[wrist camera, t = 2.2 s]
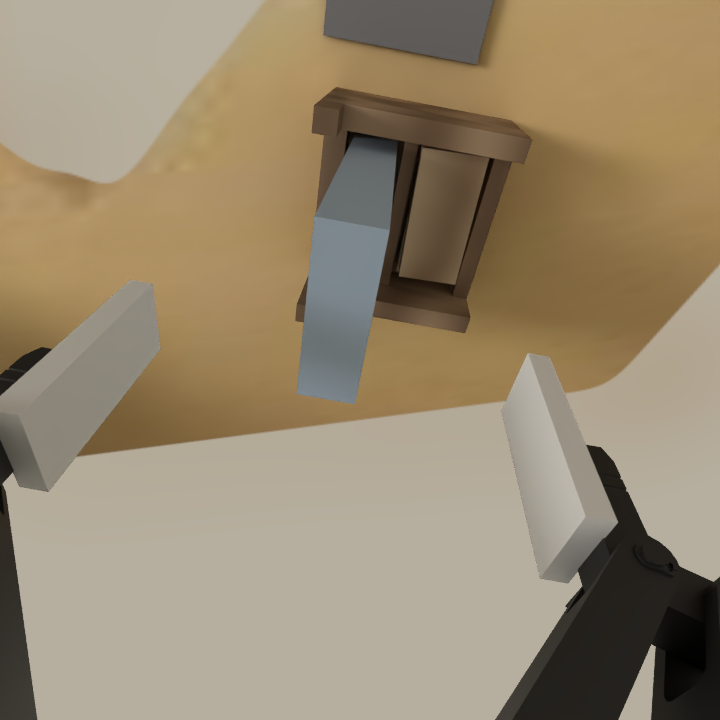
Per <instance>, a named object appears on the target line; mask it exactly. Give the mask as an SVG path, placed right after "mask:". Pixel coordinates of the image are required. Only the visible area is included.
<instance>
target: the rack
mask: <svg viewBox="0 0 720 720" xmlns="http://www.w3.org/2000/svg"><path fill="white" fill-rule="evenodd" d="M356 132H358V133H363V134H368V135H373V136H379V137H384V138H389V139H395V140H398V144H397V155H396V167H395V178H394V189H393V200H392V211H391V223H390V232H389V237H388V242H387V247H386V252H385V257H384V262H383V267H382V272H381V277H380V282H379V287H378V292H377V297H376V302H375V306H374V311H373V316H372V317H378V318H383V319H389V320H394V321H400V322H406V323H411V324H417V325H422V326H428V327H433V328H439V329H445V330H450V331H456V332H461V333H465V332H466V329H467V326H468V323H469V320H470V314H469V309H468V305H467V300H466V298H467V295H468V292H469V289H470V286H471V283H472V280H473V277H474V274H475V271H476V268H477V265H478V262H479V259H480V256H481V253H482V250H483V247H484V244H485V241H486V238H487V235H488V232H489V229H490V226H491V223H492V220H493V217H494V214H495V211H496V208H497V205H498V202H499V199H500V196H501V193H502V190H503V187H504V184H505V181H506V178H507V175H508V172H509V169H510V166H511V163H512V162H516V163H522V164H524V162H525V159H526V156H527V153H528V150H529V148H530V145H531V142H532V139H531V138H530V137H529V136H528V135H527V134H525V133H524V132H523V131H522V130H521V129H520V128H519V127H518V126H517V125H515V124H514V123H513V122H512V121H510V120H505V119H500V118H494V117H489V116H484V115H479V114H473V113H468V112H463V111H458V110H452V109H447V108H442V107H437V106H432V105H426V104H421V103H416V102H411V101H405V100H400V99H395V98H390V97H384V96H379V95H374V94H369V93H364V92H358V91H353V90H348V89H343V88H337V87H336V88H335V89H333V90H332V91H331V92H330V93H328V94H327V95H326V96H325V97H324V98H322V99H321V100H320V101H319V102H317V103H316V104H315V105H314V113H313V124H312V133H315V134H320V135H324V141H323V151H322V161H321V171H320V181H319V190H318V200H317V210H318V208H319V206H320V204H321V202H322V200H323V198H324V196H325V194H326V192H327V190H328V188H329V186H330V184H331V182H332V180H333V178H334V176H335V174H336V172H337V170H338V168H339V166H340V164H341V162H342V160H343V158H344V156H345V154H346V152H347V150H348V148H349V146H350V144H351V142H352V140H353V138H354V136H355V134H356ZM422 145H426V146H432V147H437V148H442V149H447V150H453V151H458V152H463V153H469V154H474V155H479V156H484V157H489V161H488V165H487V168H486V172H485V176H484V180H483V183H482V187H481V191H480V194H479V198H478V202H477V206H476V209H475V213H474V217H473V221H472V224H471V228H470V232H469V235H468V239H467V243H466V247H465V250H464V254H463V258H462V261H461V265H460V269H459V273H458V276H457V280H456V284H455V285H453V284H447V283H440V282H433V281H426V280H420V279H413V278H406V277H400V276H399V271H396V263H397V258H398V253H399V249H400V244H401V240H402V235H403V230H404V226H405V221H406V217H407V212H408V208H409V203H410V198H411V194H412V189H413V185H414V180H415V176H416V171H417V166H418V162H419V157H420V151H421V146H422ZM317 210H316V212H317ZM307 286H308V278H307V280H306V283H305V285H304V288H303V290H302V293H301V295H300V298H299V300H298V303H297V308H296V320H295V321H299V322H304V316H305V306H306V296H307Z"/></svg>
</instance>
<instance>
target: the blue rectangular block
mask: <svg viewBox="0 0 720 720" xmlns="http://www.w3.org/2000/svg"><path fill="white" fill-rule="evenodd" d="M397 144H398V140H395V139H389V138H384V137H379V136H373V135H368V134H363V133H358V132H356V134H355V136H354V138H353V140H352V142H351V144H350V146H349V148H348V150H347V152H346V154H345V156H344V158H343V160H342V162H341V164H340V166H339V168H338V170H337V172H336V174H335V176H334V178H333V180H332V182H331V184H330V186H329V188H328V190H327V192H326V194H325V196H324V198H323V200H322V202H321V204H320V206H319V208H318V210H317V212H316V214H315V216H314V225H313V235H312V245H311V255H310V265H309V275H308V286H307V296H306V306H305V316H304V326H303V336H302V346H301V356H300V366H299V376H298V386H297V394H299V395H305V396H311V397H317V398H322V399H328V400H334V401H339V402H345V403H351V404H355V401H356V396H357V391H358V386H359V381H360V376H361V371H362V366H363V361H364V356H365V351H366V346H367V341H368V336H369V331H370V326H371V321H372V316H373V311H374V306H375V302H376V297H377V292H378V287H379V282H380V277H381V272H382V267H383V262H384V257H385V252H386V247H387V242H388V237H389V232H390V223H391V211H392V200H393V189H394V178H395V167H396V155H397Z"/></svg>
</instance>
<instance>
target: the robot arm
mask: <svg viewBox="0 0 720 720" xmlns="http://www.w3.org/2000/svg"><path fill="white" fill-rule="evenodd" d="M160 349H161V348H160V340H159V332H158V323H157V315H156V307H155V299H154V291H153V284H151V283H145V282H140V281H135V280H130V281H129V282H127V283H126V284H125V285H124V286H123V287H122V288H121V289H120V290H118V291H117V292H116V293H115V294H114V295H113V296H112V297H111V298H109V299H108V300H107V301H106V302H105V303H104V304H103V305H102V306H101V307H99V308H98V309H97V310H96V311H95V312H94V313H93V314H92V315H90V316H89V317H88V318H87V319H86V320H85V321H84V322H83V323H81V324H80V325H79V326H78V327H77V328H76V329H75V330H74V331H73V332H71V333H70V334H69V335H68V336H67V337H66V338H65V339H64V340H62V341H61V342H60V343H59V344H58V345H57V346H56V347H55V348H53V349H49V348H44V347H41V348H39V349H36V350H34V351H32V352H30V353H28V354H26V355H24V356H22V357H21V358H20V359H18V360H17V361H16V362H15V363H14V364H12V365H11V366H10V367H9V370H5V371H4V372H3V373H2V374H1V375H0V720H37V715H36V708H35V700H34V693H33V686H32V679H31V672H30V664H29V658H28V649H27V643H26V635H25V628H24V620H23V613H22V606H21V599H20V592H19V584H18V577H17V570H16V563H15V555H14V548H13V541H12V533H11V527H10V519H9V512H8V504H7V497H6V491H5V489H4V487H3V485H2V484H3V482H4V481H5V480H6V479H7V478H8V477H9V476H10V475H11V474H12V472H13V474H14V475H15V478H16V480H17V483H18V485H19V487H24V488H30V489H36V490H41V491H47V492H49V490H50V489H51V488H52V487H53V485H54V484H55V483H56V482H57V480H58V479H59V478H60V476H61V475H62V474H63V473H64V471H65V470H66V469H67V467H68V466H69V465H70V464H71V462H72V461H73V460H74V459H75V457H76V456H77V455H78V454H79V452H80V451H81V450H82V448H83V447H84V446H85V445H86V443H87V442H88V441H89V440H90V438H91V437H92V436H93V434H94V433H95V432H96V431H97V429H98V428H99V427H100V426H101V424H102V423H103V422H104V420H105V419H106V418H107V417H108V415H109V414H110V413H111V412H112V410H113V409H114V408H115V406H116V405H117V404H118V403H119V401H120V400H121V399H122V398H123V396H124V395H125V394H126V392H127V391H128V390H129V389H130V387H131V386H132V385H133V384H134V382H135V381H136V380H137V378H138V377H139V376H140V375H141V373H142V372H143V371H144V370H145V368H146V367H147V366H148V364H149V363H150V362H151V361H152V359H153V358H154V357H155V355H156V354H157V353H158V352H159V350H160ZM502 415H503V420H504V424H505V429H506V433H507V437H508V442H509V446H510V450H511V454H512V459H513V463H514V468H515V472H516V477H517V481H518V485H519V489H520V494H521V498H522V503H523V507H524V511H525V516H526V520H527V524H528V528H529V533H530V537H531V542H532V546H533V550H534V555H535V559H536V563H537V568H538V572H539V577H540V578H541V579H546V580H552V581H557V582H563V583H569V582H570V580H571V579H572V578H573V577H574V576H575V574H576V573H577V572H579V576H580V579H581V583H582V587H581V588H580V590H579V591H578V592H577V593H576V594H575V595H574V597H573V598H572V599H571V600H570V601H569V602H568V604H567V605H566V607H567V609H566V611H565V612H564V614H563V615H562V617H561V619H560V620H559V621H558V623H557V625H556V626H555V628H554V629H553V631H552V633H551V634H550V635H549V637H548V639H547V640H546V642H545V643H544V645H543V646H542V648H541V649H540V651H539V653H538V654H537V656H536V657H535V659H534V661H533V662H532V664H531V665H530V667H529V668H528V670H527V671H526V673H525V674H524V676H523V678H522V679H521V681H520V682H519V684H518V685H517V687H516V688H515V690H514V692H513V693H512V695H511V696H510V698H509V699H508V701H507V702H506V704H505V706H504V707H503V709H502V710H501V712H500V713H499V715H498V716H497V718H496V719H495V720H618V719H619V717H620V714H621V712H622V710H623V708H624V705H625V703H626V701H627V698H628V696H629V694H630V692H631V689H632V687H633V685H634V682H635V680H636V678H637V676H638V673H639V671H640V669H641V667H642V664H643V662H644V660H645V657H646V655H647V653H648V650H649V648H650V646H651V644H652V645H654V646H656V651H655V667H654V683H653V698H652V714H651V715H652V716H651V720H720V577H719V578H718V579H717V580H715V581H714V582H712V581H710V580H708V579H706V578H704V577H701V576H699V575H697V574H695V573H693V572H690V571H688V570H686V569H684V568H682V567H680V566H679V565H678V562H677V560H676V559H675V557H674V556H673V555H672V553H671V552H670V551H669V550H668V549H667V548H666V547H665V546H663V545H662V544H661V543H660V542H659V541H657V540H655V539H653V538H651V537H650V536H648V535H647V532H646V530H645V528H644V526H643V524H642V522H641V520H640V517H639V515H638V513H637V511H636V509H635V506H634V504H633V502H632V500H631V498H630V495H629V493H628V492H626V487H625V485H624V483H623V480H621V479H620V478H621V476H620V474H619V472H618V470H617V467H616V465H615V463H614V461H613V460H612V459H611V458H610V457H609V456H608V455H607V453H606V452H605V451H604V450H603V449H602V448H601V447H596V446H590V445H586V444H585V441H584V439H583V436H582V434H581V432H580V429H579V427H578V424H577V422H576V419H575V417H574V415H573V412H572V410H571V408H570V405H569V403H568V400H567V398H566V395H565V393H564V390H563V388H562V386H561V383H560V381H559V378H558V376H557V374H556V371H555V369H554V366H553V364H552V361H551V359H550V357H547V356H542V355H536V354H531V353H528V354H527V356H526V358H525V361H524V363H523V365H522V367H521V369H520V372H519V374H518V376H517V378H516V380H515V382H514V385H513V387H512V389H511V391H510V393H509V396H508V398H507V400H506V402H505V404H504V406H503V409H502Z"/></svg>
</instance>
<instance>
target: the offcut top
mask: <svg viewBox="0 0 720 720" xmlns="http://www.w3.org/2000/svg"><path fill="white" fill-rule="evenodd" d="M488 161H489V157H484V156H479V155H474V154H469V153H463V152H458V151H453V150H447V149H442V148H437V147H432V146H426V145H422V146H421V151H420V157H419V162H418V168H417V173H416V178H415V184H414V189H413V195H412V200H411V205H410V211H409V216H408V222H407V227H406V232H405V238H404V243H403V249H402V254H401V259H400V265H399V276H400V277H406V278H413V279H420V280H426V281H433V282H440V283H447V284H453V285H455V284H456V280H457V276H458V273H459V269H460V265H461V261H462V258H463V254H464V250H465V247H466V243H467V239H468V235H469V232H470V228H471V224H472V221H473V217H474V213H475V209H476V206H477V202H478V198H479V194H480V191H481V187H482V183H483V180H484V176H485V172H486V168H487V165H488Z"/></svg>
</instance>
